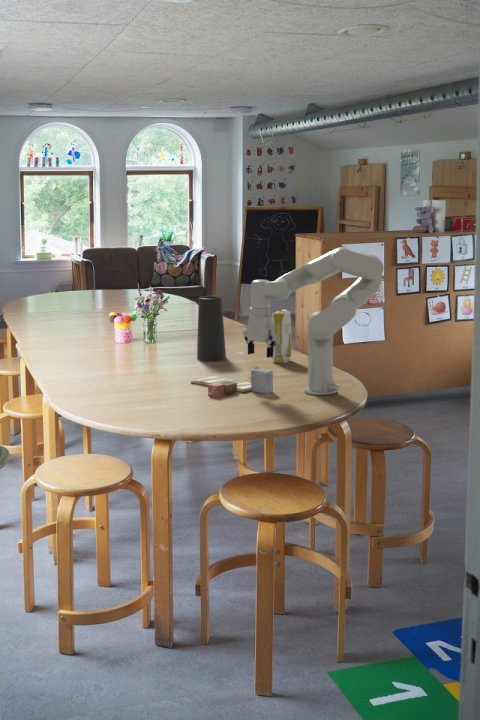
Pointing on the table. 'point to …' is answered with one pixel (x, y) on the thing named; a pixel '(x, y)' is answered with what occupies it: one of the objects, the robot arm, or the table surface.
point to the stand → (229, 387)
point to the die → (216, 389)
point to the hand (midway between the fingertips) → (260, 355)
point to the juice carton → (282, 336)
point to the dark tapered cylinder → (210, 329)
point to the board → (241, 385)
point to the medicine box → (262, 381)
